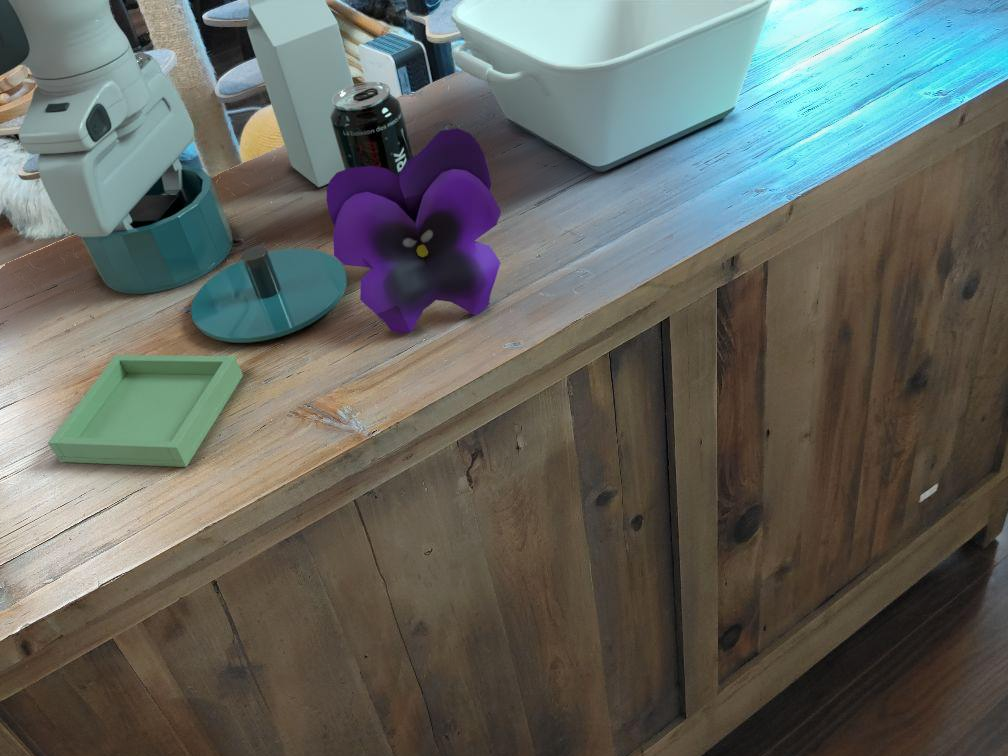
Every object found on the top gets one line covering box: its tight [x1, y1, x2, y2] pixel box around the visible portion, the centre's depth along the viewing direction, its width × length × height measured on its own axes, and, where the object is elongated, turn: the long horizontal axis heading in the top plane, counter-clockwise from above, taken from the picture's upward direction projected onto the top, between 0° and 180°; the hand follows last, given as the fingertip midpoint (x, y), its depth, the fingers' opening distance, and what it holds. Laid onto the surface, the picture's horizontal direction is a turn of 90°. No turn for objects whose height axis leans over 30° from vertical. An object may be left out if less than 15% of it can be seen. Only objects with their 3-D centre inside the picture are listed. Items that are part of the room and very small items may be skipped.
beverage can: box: [331, 81, 414, 176], centre depth 99 cm, size 7×7×12 cm
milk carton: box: [246, 0, 355, 188], centre depth 106 cm, size 7×7×19 cm
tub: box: [450, 0, 773, 173], centre depth 106 cm, size 34×27×13 cm
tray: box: [47, 354, 244, 468], centre depth 84 cm, size 12×12×2 cm
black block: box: [129, 195, 184, 228], centre depth 101 cm, size 5×5×5 cm
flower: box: [325, 127, 502, 335], centre depth 90 cm, size 15×15×14 cm
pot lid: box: [190, 245, 348, 344], centre depth 93 cm, size 15×15×5 cm
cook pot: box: [79, 163, 234, 295], centre depth 101 cm, size 14×14×6 cm
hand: (160, 229), depth 101 cm, fingers closed on cook pot, 7 cm apart
